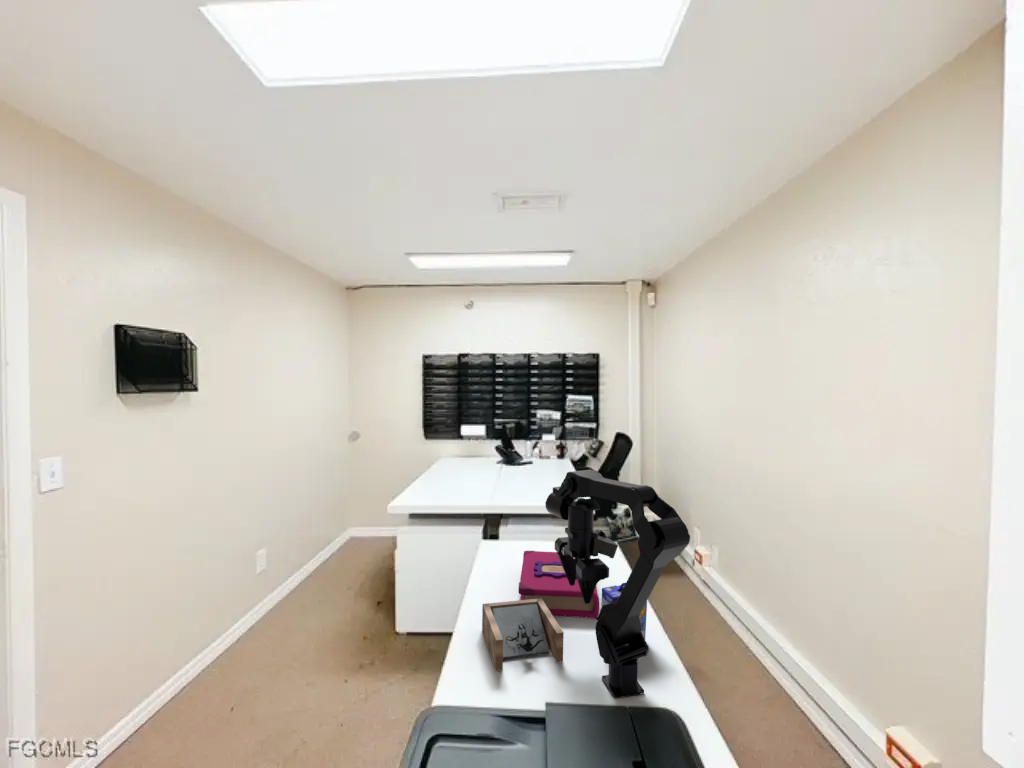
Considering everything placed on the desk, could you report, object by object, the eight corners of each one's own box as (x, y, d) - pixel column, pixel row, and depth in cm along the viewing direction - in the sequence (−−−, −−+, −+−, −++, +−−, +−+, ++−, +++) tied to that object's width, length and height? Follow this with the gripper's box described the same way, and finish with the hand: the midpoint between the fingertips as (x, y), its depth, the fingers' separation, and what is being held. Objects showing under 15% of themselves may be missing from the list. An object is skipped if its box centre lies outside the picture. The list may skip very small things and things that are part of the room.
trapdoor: (549, 653, 111) (549, 651, 110) (501, 659, 108) (501, 657, 108) (536, 606, 121) (536, 604, 120) (492, 610, 118) (492, 608, 118)
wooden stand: (562, 661, 107) (563, 632, 107) (495, 670, 104) (496, 640, 104) (541, 623, 123) (541, 598, 123) (482, 630, 120) (482, 603, 120)
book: (590, 575, 154) (590, 551, 154) (598, 620, 127) (599, 590, 126) (523, 572, 156) (523, 548, 156) (517, 616, 128) (517, 587, 128)
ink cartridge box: (611, 649, 112) (612, 587, 112) (598, 637, 118) (600, 577, 117) (647, 641, 116) (649, 581, 116) (633, 630, 121) (635, 572, 121)
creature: (502, 633, 114) (512, 661, 106) (503, 614, 112) (513, 641, 105) (534, 627, 116) (546, 655, 109) (536, 609, 114) (548, 635, 107)
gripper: (632, 537, 104) (631, 609, 104) (597, 512, 122) (595, 574, 123) (583, 540, 101) (582, 615, 102) (554, 514, 120) (553, 578, 120)
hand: (579, 593), depth 112 cm, fingers open, 9 cm apart
